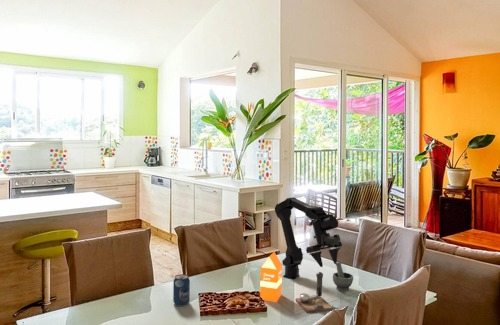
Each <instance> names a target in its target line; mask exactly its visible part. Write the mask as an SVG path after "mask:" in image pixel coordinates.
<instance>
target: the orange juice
mask: <svg viewBox="0 0 500 325" xmlns="http://www.w3.org/2000/svg"><path fill="white" fill-rule="evenodd" d="M282 271H283V263H282V261H280V259H279V257H278V256H277V254H276V252H275V251H273V253H271V254H270V255H269V256H268V258H267V259H266V260H265V261H264V262H263V264H262V265H261V267H260V283H259V284H260V288H259V289H260V291H259V292H260V293H259V294H260V295H259V296H260V297H261V298H262V299H264V300H263V301H269V302H274V303H277V302H278V300H279V299H280V297H281V296H282V284H283V283H282V282H283V276H282V275H283V272H282ZM260 297H259V298H260Z"/></svg>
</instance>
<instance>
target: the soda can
mask: <svg viewBox="0 0 500 325" xmlns="http://www.w3.org/2000/svg"><path fill="white" fill-rule="evenodd" d="M190 281H191V280H190V278H189V275H187V274H184V273H183V274H177V275H175V277H174V278H173V290H172V291H173V292H172V293H173V303H174V305H175V306H177V307H185V306H188V304H189V303H190V292H191V291H190V288H191V287H190V286H191V284H190V283H191V282H190Z"/></svg>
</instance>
